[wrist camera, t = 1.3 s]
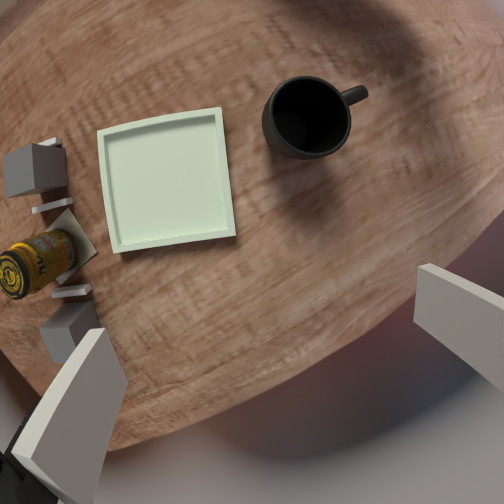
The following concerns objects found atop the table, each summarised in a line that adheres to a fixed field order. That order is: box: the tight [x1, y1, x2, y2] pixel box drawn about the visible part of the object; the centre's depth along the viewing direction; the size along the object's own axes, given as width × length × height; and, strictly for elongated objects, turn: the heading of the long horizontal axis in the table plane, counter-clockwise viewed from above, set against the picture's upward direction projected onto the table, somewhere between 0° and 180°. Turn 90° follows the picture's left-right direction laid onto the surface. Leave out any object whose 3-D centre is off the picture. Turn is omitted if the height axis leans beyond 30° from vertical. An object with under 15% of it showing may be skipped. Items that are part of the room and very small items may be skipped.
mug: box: [262, 76, 368, 160], centre depth 28 cm, size 8×12×10 cm
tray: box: [97, 107, 236, 253], centre depth 31 cm, size 15×15×2 cm
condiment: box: [0, 207, 97, 300], centre depth 26 cm, size 7×8×12 cm
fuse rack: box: [3, 137, 101, 363], centre depth 28 cm, size 29×6×8 cm, turn 7°
